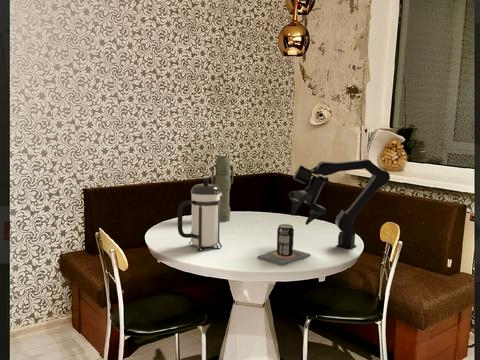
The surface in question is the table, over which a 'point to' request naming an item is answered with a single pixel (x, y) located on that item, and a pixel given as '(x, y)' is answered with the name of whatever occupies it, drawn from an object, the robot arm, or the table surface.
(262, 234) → the table surface
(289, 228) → the beverage can
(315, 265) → the table surface
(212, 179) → the thermos
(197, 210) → the coffee press
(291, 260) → the placemat
